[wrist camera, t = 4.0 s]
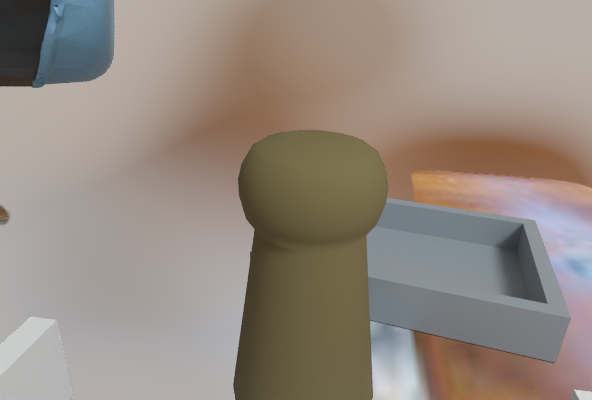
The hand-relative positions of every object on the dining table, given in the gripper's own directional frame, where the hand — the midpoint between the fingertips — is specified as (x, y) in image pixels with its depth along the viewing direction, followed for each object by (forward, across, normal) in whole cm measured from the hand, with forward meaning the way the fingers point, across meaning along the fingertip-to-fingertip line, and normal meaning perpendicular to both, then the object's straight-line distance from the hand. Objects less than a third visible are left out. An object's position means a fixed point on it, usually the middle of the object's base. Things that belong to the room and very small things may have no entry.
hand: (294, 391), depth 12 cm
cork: (+6, 0, -6) cm, 9 cm away
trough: (+16, +4, -6) cm, 17 cm away
